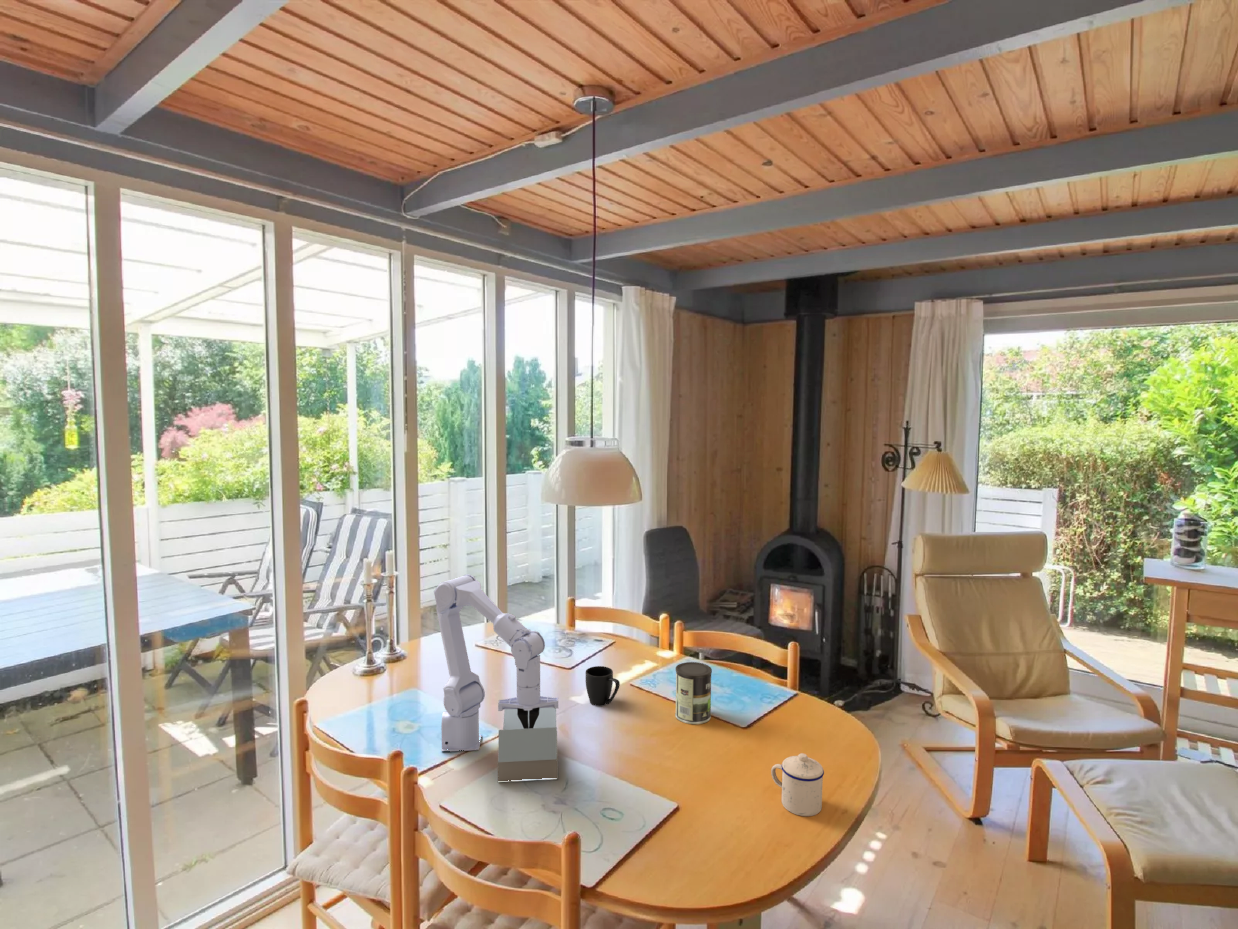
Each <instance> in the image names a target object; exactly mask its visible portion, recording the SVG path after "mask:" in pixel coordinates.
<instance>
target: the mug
mask: <svg viewBox="0 0 1238 929" xmlns="http://www.w3.org/2000/svg"><path fill="white" fill-rule="evenodd" d="M614 683H615V688H614V690H613V692H612V689H613V684H614ZM620 685H621V683H620V680H619V679H617V678H614V670H613V669H612V668H611V667H608V666H602V665H597V666H596V665H595V666H591V667H588V668H587V669H586V670H585V687H586V693H587V697H588V701H589V703H590V704H591V705H592V706H595V707H602V706H606V705H609V704H611V703H612V702H613V700H614V698H615V697H616V695H617V693H618V691H619V689H620Z"/></svg>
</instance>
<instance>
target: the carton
mask: <svg viewBox="0 0 1238 929" xmlns="http://www.w3.org/2000/svg"><path fill="white" fill-rule="evenodd" d="M558 757H559V756H558V753H557V759H552V760H532V761H511V762H498V761H497V782H498V781H508V780H509V781H511V780H522V779H542V778H558V779H559V776H558V769H559V768H558V762H559V759H558Z"/></svg>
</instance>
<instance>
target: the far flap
mask: <svg viewBox="0 0 1238 929" xmlns="http://www.w3.org/2000/svg"><path fill="white" fill-rule="evenodd" d="M503 711H504V713H503V727H502V730H506V729H524V728H523V725H522V723H521V721H520V719H519V718H518V715H517V709H505V710H503ZM528 726H529V710H528ZM552 727H557V709H554V707H553V708H540V709H539V716H538V718H537V720H536V722H535V725H534V728H552Z"/></svg>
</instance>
